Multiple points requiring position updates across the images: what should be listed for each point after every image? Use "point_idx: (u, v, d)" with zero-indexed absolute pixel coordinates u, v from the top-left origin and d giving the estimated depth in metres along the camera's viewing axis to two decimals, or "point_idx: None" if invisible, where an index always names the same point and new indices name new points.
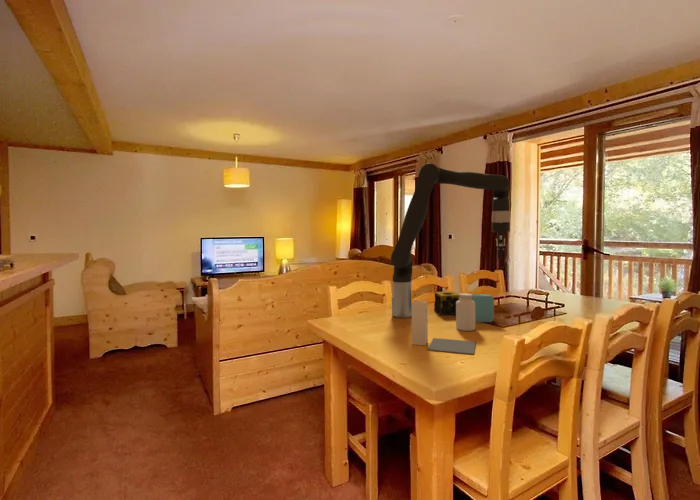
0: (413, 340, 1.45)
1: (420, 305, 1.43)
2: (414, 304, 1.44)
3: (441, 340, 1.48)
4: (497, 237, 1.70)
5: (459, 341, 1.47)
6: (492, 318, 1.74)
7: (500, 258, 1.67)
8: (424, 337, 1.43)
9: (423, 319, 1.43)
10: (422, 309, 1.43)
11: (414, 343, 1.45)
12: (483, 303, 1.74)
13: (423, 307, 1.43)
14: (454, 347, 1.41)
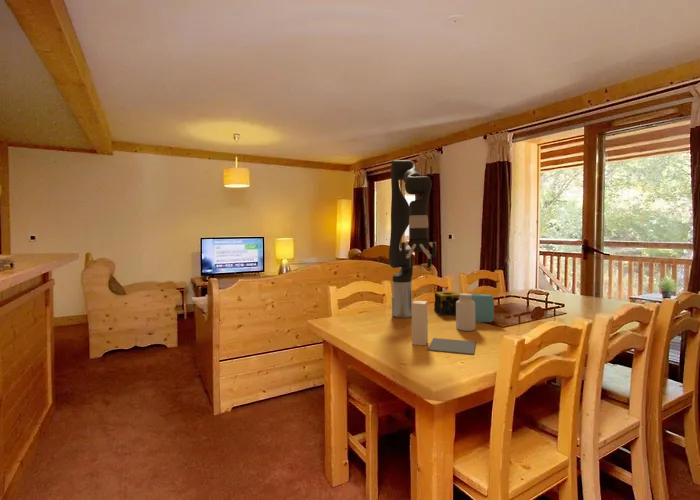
0: (413, 340, 1.45)
1: (420, 305, 1.43)
2: (414, 304, 1.44)
3: (441, 340, 1.48)
4: (422, 244, 1.52)
5: (459, 341, 1.47)
6: (492, 318, 1.74)
7: (429, 267, 1.53)
8: (424, 337, 1.43)
9: (423, 319, 1.43)
10: (422, 309, 1.43)
11: (414, 343, 1.45)
12: (483, 303, 1.74)
13: (423, 307, 1.43)
14: (454, 347, 1.41)
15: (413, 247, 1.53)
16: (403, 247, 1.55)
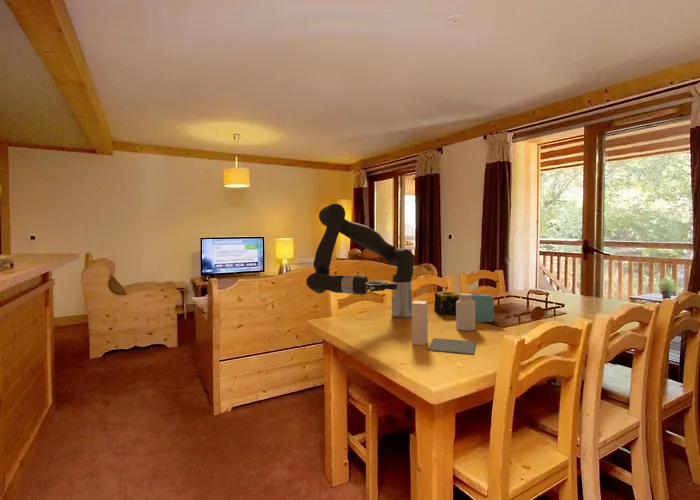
0: (413, 340, 1.45)
1: (420, 305, 1.43)
2: (414, 304, 1.44)
3: (441, 340, 1.48)
4: None
5: (459, 341, 1.47)
6: (492, 318, 1.74)
7: (396, 287, 1.48)
8: (424, 337, 1.43)
9: (423, 319, 1.43)
10: (422, 309, 1.43)
11: (414, 343, 1.45)
12: (483, 303, 1.74)
13: (423, 307, 1.43)
14: (454, 347, 1.41)
15: None
16: None
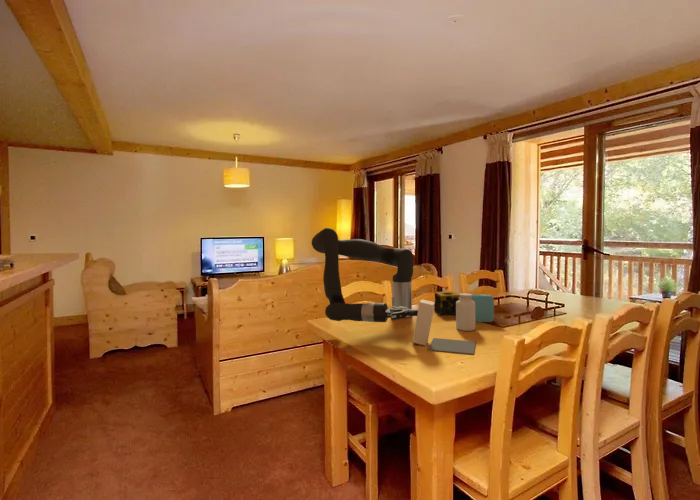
0: (414, 338, 1.45)
1: (427, 305, 1.42)
2: (422, 303, 1.43)
3: (441, 340, 1.48)
4: None
5: (459, 341, 1.47)
6: (492, 318, 1.74)
7: (417, 313, 1.46)
8: (426, 337, 1.43)
9: (428, 319, 1.42)
10: (429, 310, 1.42)
11: (414, 341, 1.45)
12: (483, 303, 1.74)
13: (430, 308, 1.42)
14: (454, 347, 1.41)
15: None
16: None
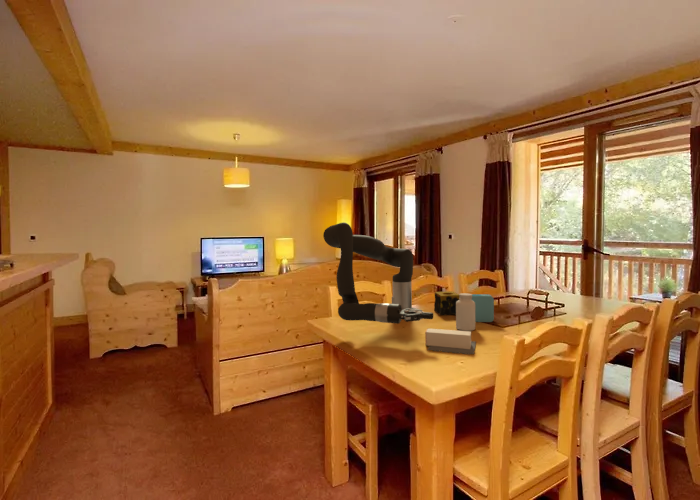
0: (430, 333, 1.43)
1: (468, 344, 1.38)
2: (469, 338, 1.38)
3: None
4: None
5: None
6: (492, 318, 1.74)
7: (432, 316, 1.44)
8: (434, 344, 1.42)
9: (453, 345, 1.40)
10: (464, 345, 1.39)
11: (427, 334, 1.43)
12: (483, 303, 1.74)
13: (466, 347, 1.38)
14: None
15: None
16: None
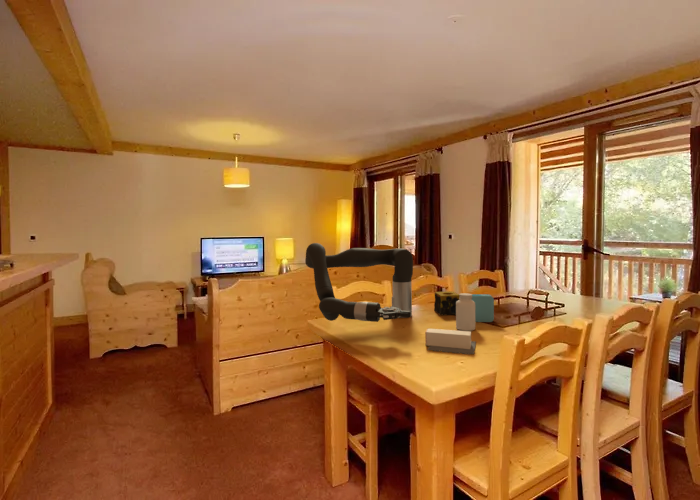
0: (430, 333, 1.43)
1: (468, 344, 1.38)
2: (469, 338, 1.38)
3: None
4: None
5: None
6: (492, 318, 1.74)
7: (409, 315, 1.47)
8: (434, 344, 1.42)
9: (453, 345, 1.40)
10: (464, 345, 1.39)
11: (427, 334, 1.43)
12: (483, 303, 1.74)
13: (466, 347, 1.38)
14: None
15: None
16: None
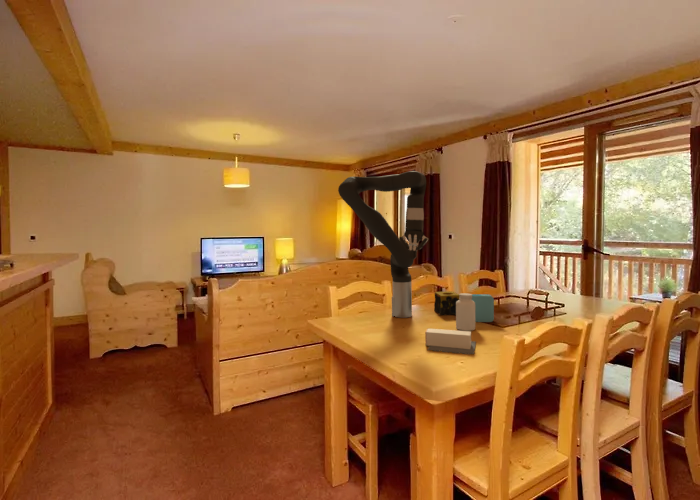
0: (430, 333, 1.43)
1: (468, 344, 1.38)
2: (469, 338, 1.38)
3: None
4: (417, 236, 1.63)
5: None
6: (492, 318, 1.74)
7: (414, 258, 1.66)
8: (434, 344, 1.42)
9: (453, 345, 1.40)
10: (464, 345, 1.39)
11: (427, 334, 1.43)
12: (483, 303, 1.74)
13: (466, 347, 1.38)
14: None
15: (410, 238, 1.64)
16: (403, 240, 1.66)
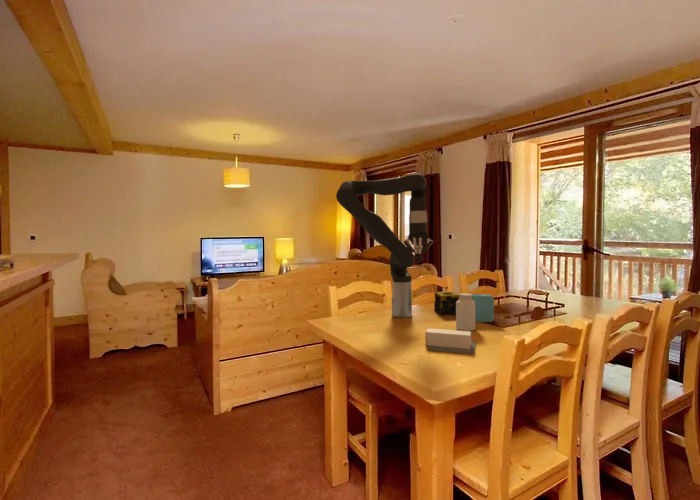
0: (430, 333, 1.43)
1: (468, 344, 1.38)
2: (469, 338, 1.38)
3: None
4: (422, 239, 1.62)
5: None
6: (492, 318, 1.74)
7: (420, 261, 1.64)
8: (434, 344, 1.42)
9: (453, 345, 1.40)
10: (464, 345, 1.39)
11: (427, 334, 1.43)
12: (483, 303, 1.74)
13: (466, 347, 1.38)
14: None
15: (414, 241, 1.63)
16: (407, 244, 1.65)
